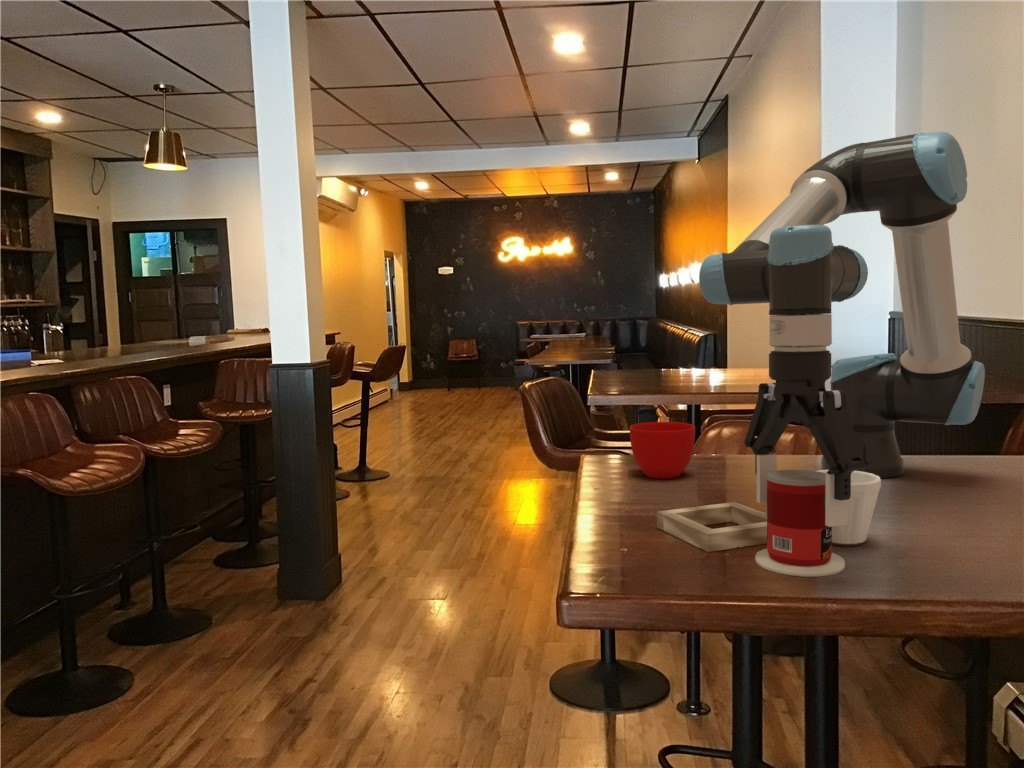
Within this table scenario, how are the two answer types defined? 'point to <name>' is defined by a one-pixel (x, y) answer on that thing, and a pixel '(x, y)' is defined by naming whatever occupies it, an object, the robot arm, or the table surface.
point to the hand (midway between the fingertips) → (799, 512)
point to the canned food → (797, 518)
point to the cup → (858, 509)
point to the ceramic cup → (662, 447)
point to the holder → (693, 531)
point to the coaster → (826, 569)
